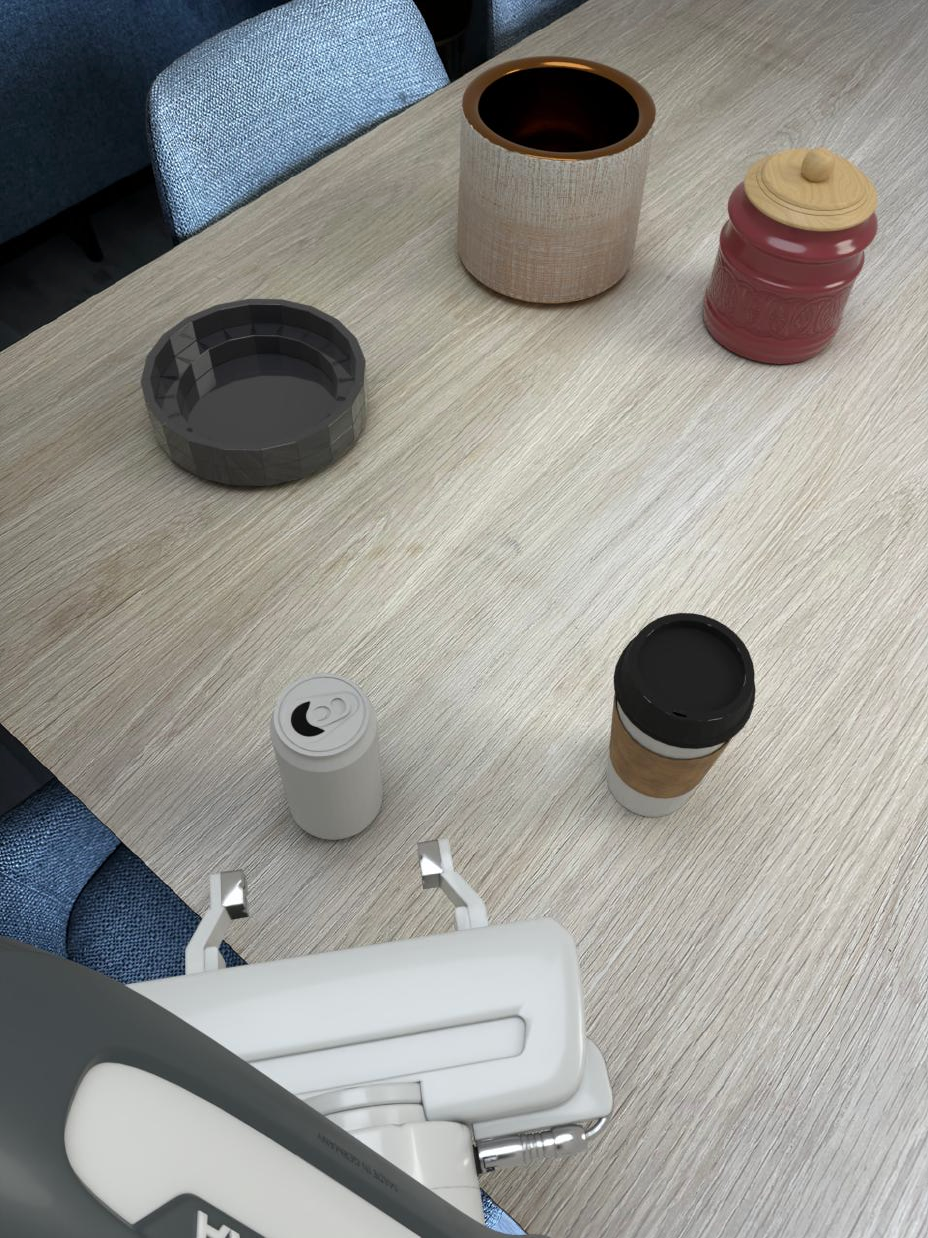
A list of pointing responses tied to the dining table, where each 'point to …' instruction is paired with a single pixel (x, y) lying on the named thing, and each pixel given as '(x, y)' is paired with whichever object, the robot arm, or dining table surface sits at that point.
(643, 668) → the coffee cup
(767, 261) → the kitchen canister
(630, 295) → the dining table surface
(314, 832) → the beverage can
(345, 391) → the grey shallow round dish
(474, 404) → the dining table surface
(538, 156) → the planter
